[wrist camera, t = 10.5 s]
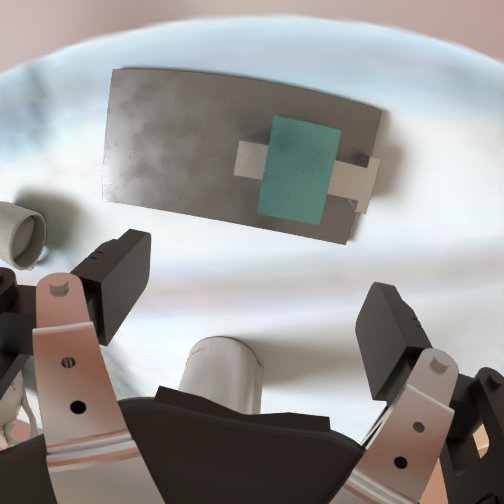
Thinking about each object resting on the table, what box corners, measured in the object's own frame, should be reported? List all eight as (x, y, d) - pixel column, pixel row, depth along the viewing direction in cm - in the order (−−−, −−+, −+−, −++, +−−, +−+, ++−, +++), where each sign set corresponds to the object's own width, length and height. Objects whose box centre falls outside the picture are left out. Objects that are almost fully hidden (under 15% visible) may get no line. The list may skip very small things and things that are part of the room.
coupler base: (378, 109, 27) (392, 111, 23) (343, 241, 33) (351, 258, 29) (117, 69, 26) (98, 67, 23) (106, 197, 33) (88, 209, 29)
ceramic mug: (6, 191, 33) (-30, 211, 26) (47, 203, 33) (9, 227, 27) (11, 256, 38) (-19, 281, 31) (49, 272, 38) (19, 301, 31)
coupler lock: (328, 125, 27) (341, 130, 22) (310, 208, 31) (317, 232, 25) (274, 114, 27) (273, 116, 22) (259, 198, 31) (255, 220, 25)
